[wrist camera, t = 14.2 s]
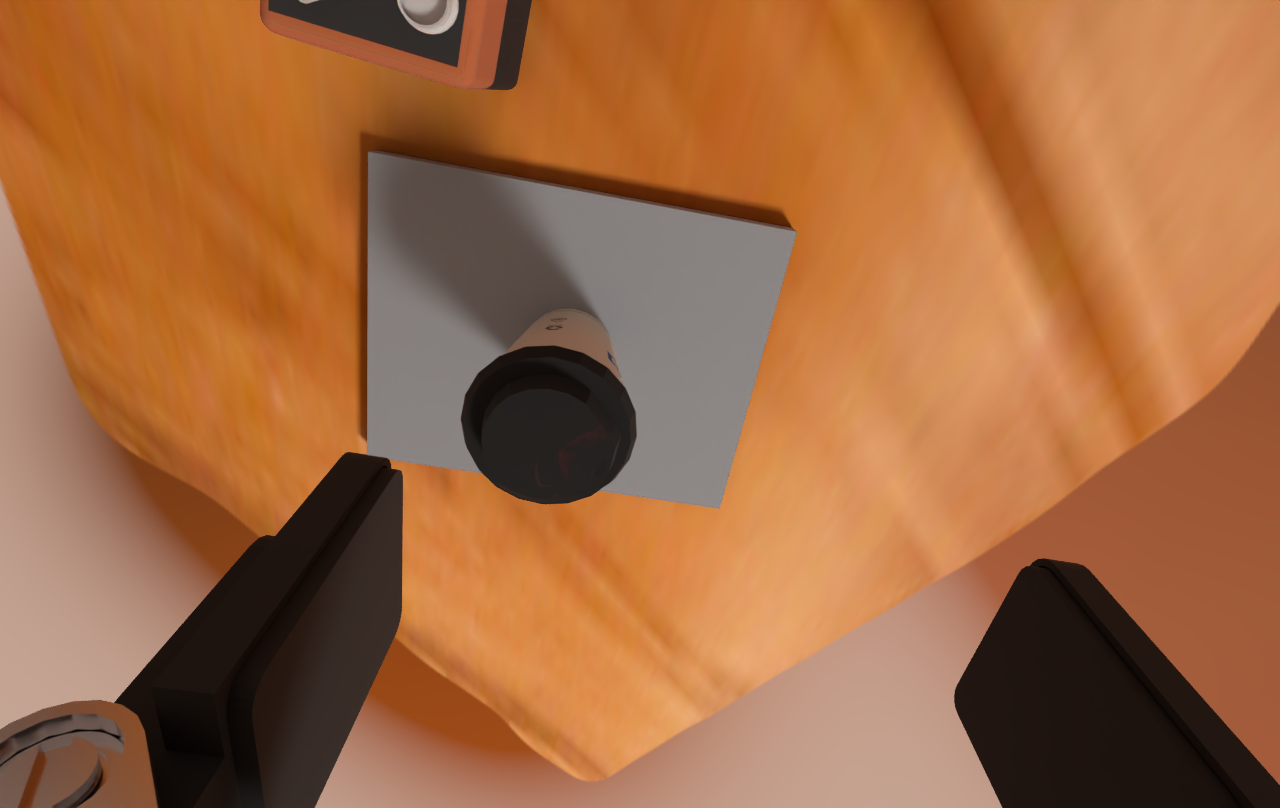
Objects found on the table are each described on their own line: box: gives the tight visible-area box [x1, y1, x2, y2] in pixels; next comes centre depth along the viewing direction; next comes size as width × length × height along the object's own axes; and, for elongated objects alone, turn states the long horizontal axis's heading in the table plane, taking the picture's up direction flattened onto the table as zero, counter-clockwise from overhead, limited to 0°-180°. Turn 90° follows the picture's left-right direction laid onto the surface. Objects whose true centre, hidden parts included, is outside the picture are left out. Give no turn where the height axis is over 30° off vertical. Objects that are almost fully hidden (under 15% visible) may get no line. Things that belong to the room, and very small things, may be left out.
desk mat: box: [367, 150, 797, 509], centre depth 34 cm, size 20×16×1 cm
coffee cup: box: [461, 309, 637, 504], centre depth 29 cm, size 7×7×10 cm
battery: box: [260, 0, 532, 90], centre depth 23 cm, size 4×7×10 cm, turn 74°
